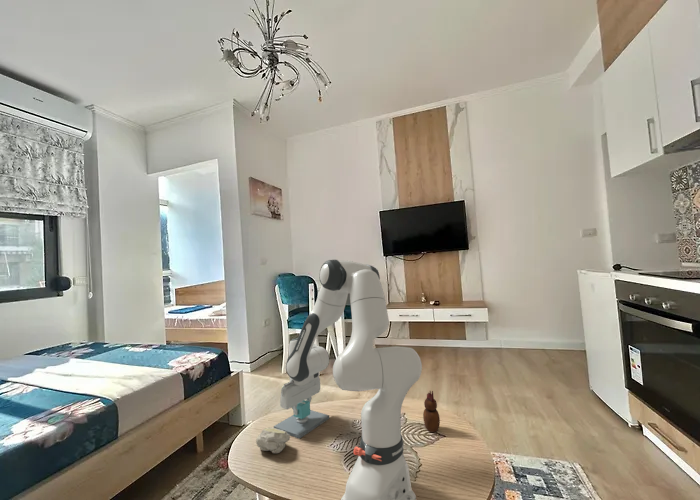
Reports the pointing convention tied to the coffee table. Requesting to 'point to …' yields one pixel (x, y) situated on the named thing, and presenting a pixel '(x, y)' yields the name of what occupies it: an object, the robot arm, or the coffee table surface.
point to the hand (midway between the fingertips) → (302, 411)
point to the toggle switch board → (302, 424)
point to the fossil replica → (272, 440)
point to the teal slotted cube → (303, 409)
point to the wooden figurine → (431, 414)
